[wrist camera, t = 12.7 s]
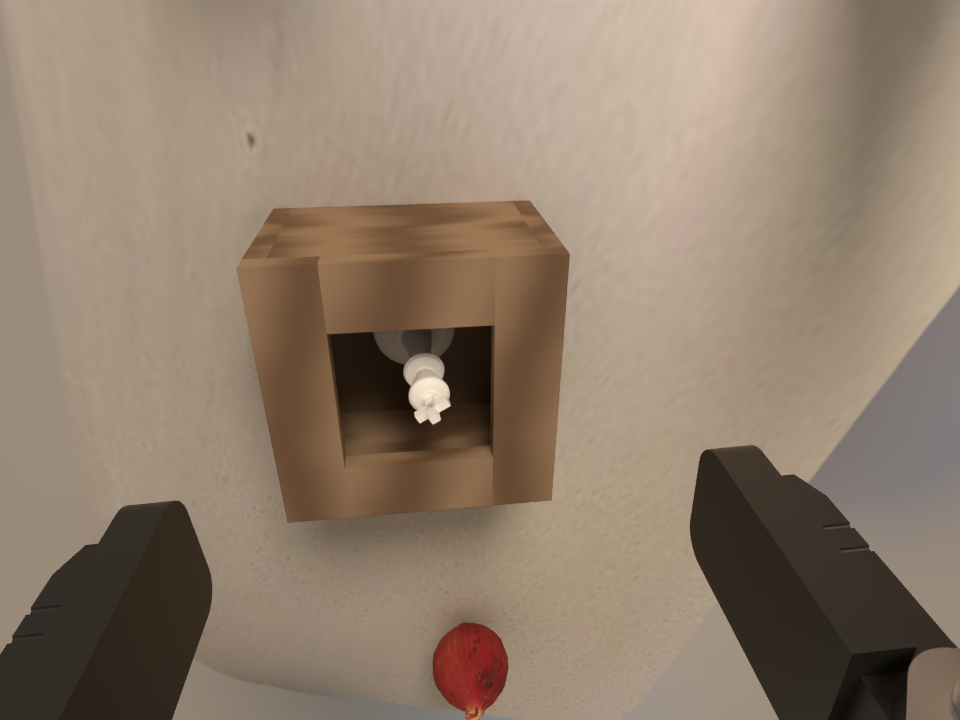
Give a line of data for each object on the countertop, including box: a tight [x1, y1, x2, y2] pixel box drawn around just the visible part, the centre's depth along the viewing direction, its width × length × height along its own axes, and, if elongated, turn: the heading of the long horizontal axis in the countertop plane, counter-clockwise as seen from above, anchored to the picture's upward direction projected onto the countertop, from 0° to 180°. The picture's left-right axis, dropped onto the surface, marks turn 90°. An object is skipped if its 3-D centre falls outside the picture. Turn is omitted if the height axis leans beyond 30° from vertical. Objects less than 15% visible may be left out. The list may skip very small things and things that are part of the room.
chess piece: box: [373, 327, 455, 424], centre depth 32 cm, size 5×5×10 cm
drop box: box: [237, 201, 570, 523], centre depth 33 cm, size 14×14×9 cm
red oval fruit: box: [433, 623, 508, 720], centre depth 48 cm, size 6×6×8 cm
